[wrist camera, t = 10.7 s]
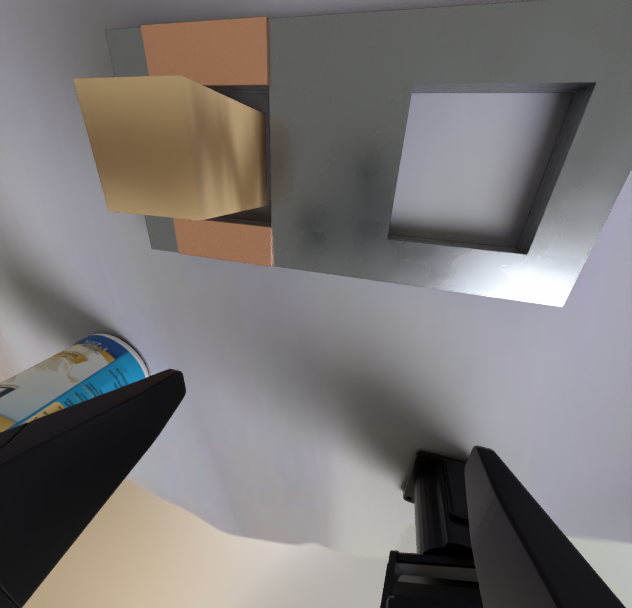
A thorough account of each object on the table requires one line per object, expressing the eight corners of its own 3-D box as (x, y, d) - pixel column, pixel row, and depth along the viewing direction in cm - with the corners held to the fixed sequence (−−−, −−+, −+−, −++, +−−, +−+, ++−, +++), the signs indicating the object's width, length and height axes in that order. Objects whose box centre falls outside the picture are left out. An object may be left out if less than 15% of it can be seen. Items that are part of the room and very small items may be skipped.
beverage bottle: (133, 405, 32) (-186, 681, 14) (77, 353, 31) (-348, 588, 13) (166, 375, 28) (-216, 704, 11) (103, 314, 27) (-450, 575, 9)
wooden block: (267, 205, 18) (200, 220, 12) (201, 199, 19) (108, 211, 13) (265, 114, 16) (181, 75, 10) (190, 113, 17) (72, 78, 11)
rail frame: (548, 296, 16) (564, 308, 14) (166, 244, 21) (149, 249, 20) (681, 11, 11) (727, -16, 9) (129, 41, 16) (101, 28, 15)
